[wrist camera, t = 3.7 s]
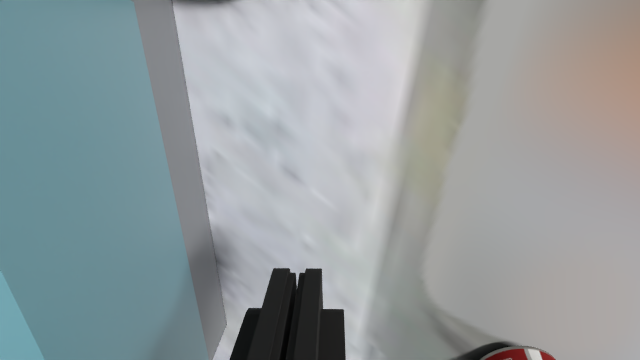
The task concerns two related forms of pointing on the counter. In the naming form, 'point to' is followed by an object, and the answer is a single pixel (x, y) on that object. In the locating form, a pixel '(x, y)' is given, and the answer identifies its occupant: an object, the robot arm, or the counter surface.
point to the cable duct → (182, 159)
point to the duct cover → (86, 193)
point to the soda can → (518, 354)
